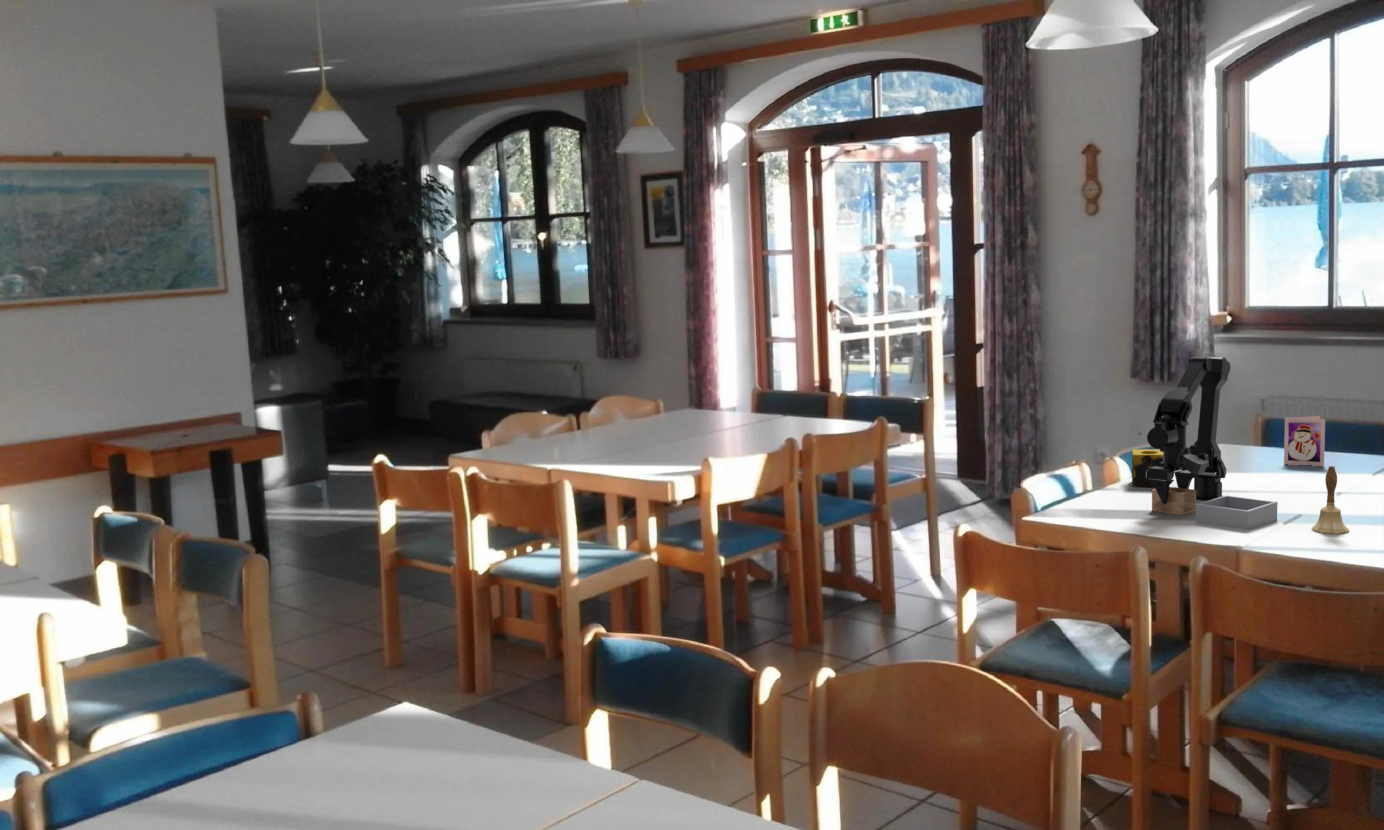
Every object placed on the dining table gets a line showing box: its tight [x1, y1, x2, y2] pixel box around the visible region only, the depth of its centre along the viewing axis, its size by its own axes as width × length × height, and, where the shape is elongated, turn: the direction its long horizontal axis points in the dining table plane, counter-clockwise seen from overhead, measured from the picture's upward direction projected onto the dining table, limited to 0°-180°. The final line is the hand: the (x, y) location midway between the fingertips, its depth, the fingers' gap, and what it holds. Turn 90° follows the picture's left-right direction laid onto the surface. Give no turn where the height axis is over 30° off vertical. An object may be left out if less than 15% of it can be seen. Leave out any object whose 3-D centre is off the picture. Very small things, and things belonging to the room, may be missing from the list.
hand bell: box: [1311, 465, 1350, 535], centre depth 319 cm, size 8×8×16 cm
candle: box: [1131, 448, 1163, 489], centre depth 386 cm, size 10×10×10 cm
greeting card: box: [1283, 415, 1326, 467], centre depth 408 cm, size 11×7×15 cm, turn 58°
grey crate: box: [1195, 494, 1278, 531], centre depth 334 cm, size 14×15×5 cm
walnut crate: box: [1151, 486, 1197, 516], centre depth 349 cm, size 9×6×6 cm
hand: (1174, 501), depth 349 cm, fingers open, 9 cm apart
